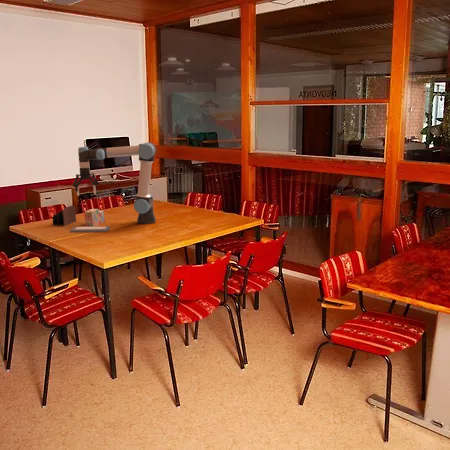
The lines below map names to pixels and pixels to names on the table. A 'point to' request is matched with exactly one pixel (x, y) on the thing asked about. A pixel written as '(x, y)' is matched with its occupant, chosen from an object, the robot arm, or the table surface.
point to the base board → (91, 229)
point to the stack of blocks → (94, 217)
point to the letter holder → (65, 217)
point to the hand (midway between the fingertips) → (86, 194)
